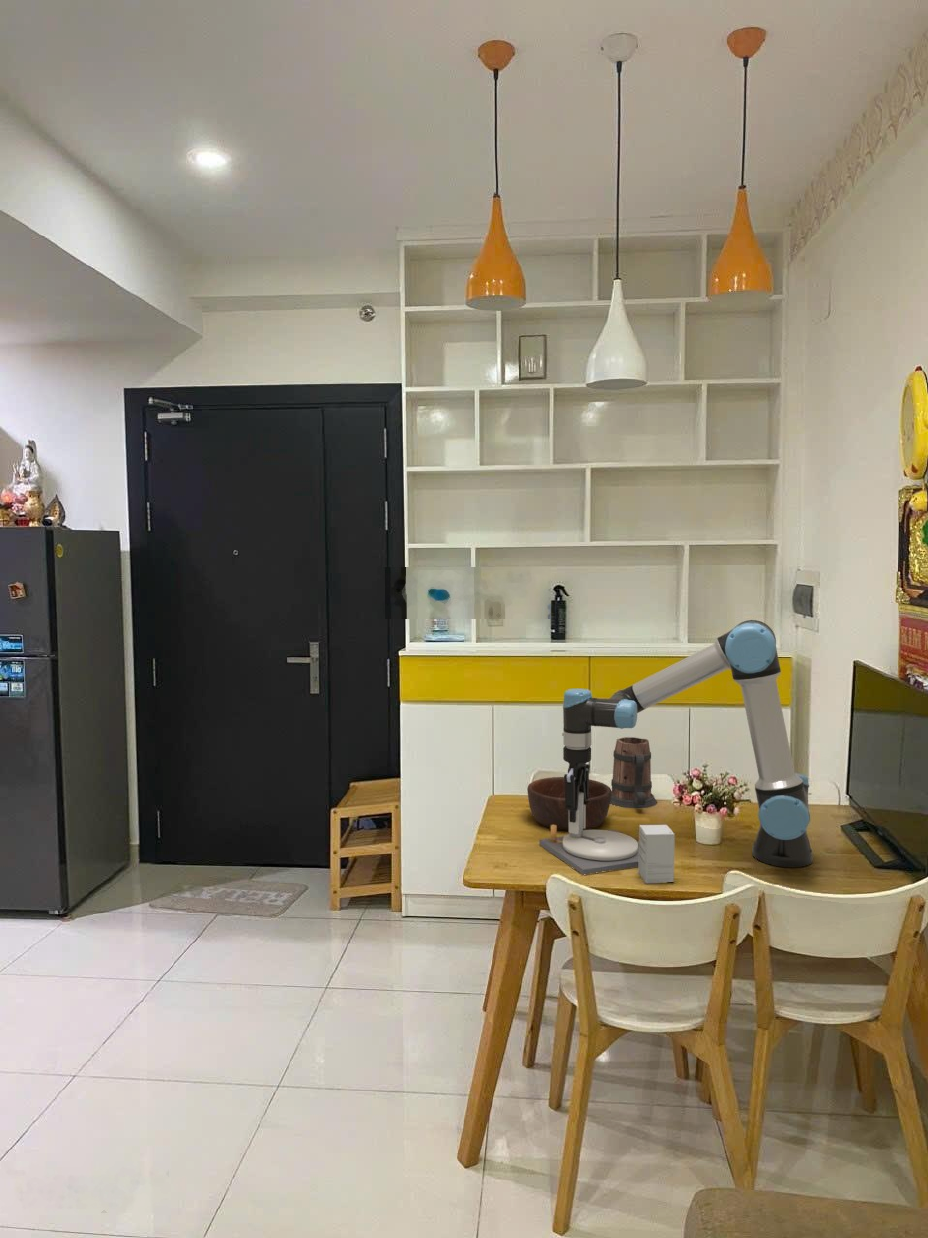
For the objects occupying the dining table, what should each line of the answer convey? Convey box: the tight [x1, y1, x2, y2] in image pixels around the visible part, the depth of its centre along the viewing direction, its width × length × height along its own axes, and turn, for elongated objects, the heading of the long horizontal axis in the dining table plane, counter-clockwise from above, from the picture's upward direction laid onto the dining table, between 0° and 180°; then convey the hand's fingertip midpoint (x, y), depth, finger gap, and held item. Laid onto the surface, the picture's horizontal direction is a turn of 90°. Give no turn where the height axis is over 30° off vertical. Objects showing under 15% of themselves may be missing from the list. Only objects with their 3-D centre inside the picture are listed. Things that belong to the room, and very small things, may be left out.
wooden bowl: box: [527, 776, 612, 832], centre depth 265 cm, size 25×25×10 cm
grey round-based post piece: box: [563, 791, 639, 861], centre depth 237 cm, size 20×20×14 cm
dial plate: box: [539, 825, 639, 876], centre depth 237 cm, size 24×24×6 cm
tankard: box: [610, 736, 658, 809], centre depth 283 cm, size 24×17×20 cm
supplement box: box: [637, 824, 676, 884], centre depth 220 cm, size 7×7×13 cm
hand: (577, 830), depth 242 cm, fingers open, 4 cm apart
